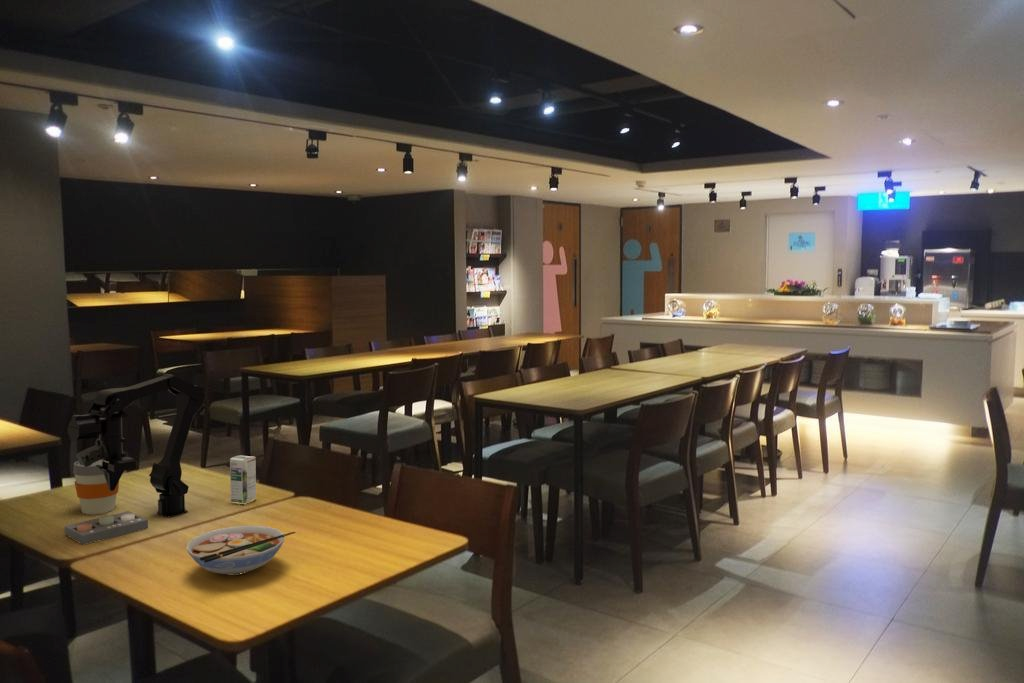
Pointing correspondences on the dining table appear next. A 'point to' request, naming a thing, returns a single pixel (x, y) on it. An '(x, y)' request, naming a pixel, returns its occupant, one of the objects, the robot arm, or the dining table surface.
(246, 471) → the syrup box
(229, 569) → the ramen bowl
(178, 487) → the robot arm
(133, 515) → the button cream
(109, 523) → the button sage
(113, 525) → the button panel
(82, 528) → the button terracotta
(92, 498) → the reusable coffee cup
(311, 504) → the dining table surface
